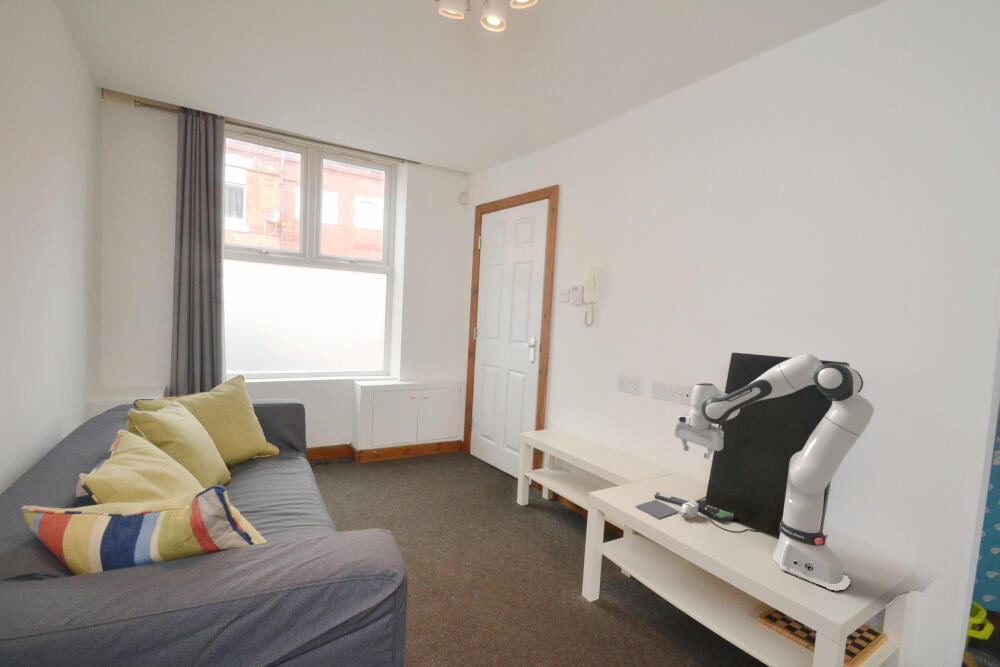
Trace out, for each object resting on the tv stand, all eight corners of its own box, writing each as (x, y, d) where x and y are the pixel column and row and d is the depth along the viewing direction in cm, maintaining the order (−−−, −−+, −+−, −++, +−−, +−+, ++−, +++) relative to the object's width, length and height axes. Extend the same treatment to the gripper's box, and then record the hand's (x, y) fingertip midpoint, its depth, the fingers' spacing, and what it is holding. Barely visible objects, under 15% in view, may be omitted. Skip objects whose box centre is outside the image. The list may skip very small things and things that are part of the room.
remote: (691, 505, 204) (691, 501, 204) (689, 509, 200) (690, 504, 200) (656, 495, 212) (657, 491, 211) (654, 499, 208) (654, 494, 208)
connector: (698, 515, 194) (700, 504, 193) (684, 520, 188) (685, 509, 187) (691, 511, 196) (692, 500, 196) (676, 517, 190) (677, 505, 190)
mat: (679, 512, 195) (679, 511, 195) (658, 519, 187) (658, 518, 187) (655, 500, 205) (655, 499, 205) (635, 506, 197) (635, 505, 197)
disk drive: (689, 508, 201) (720, 524, 188) (690, 502, 201) (721, 517, 188) (704, 504, 206) (735, 519, 193) (705, 498, 206) (736, 513, 193)
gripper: (728, 428, 183) (724, 461, 184) (682, 414, 199) (679, 445, 201) (720, 429, 179) (715, 464, 180) (674, 415, 196) (670, 447, 197)
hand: (696, 454), depth 191 cm, fingers open, 8 cm apart
